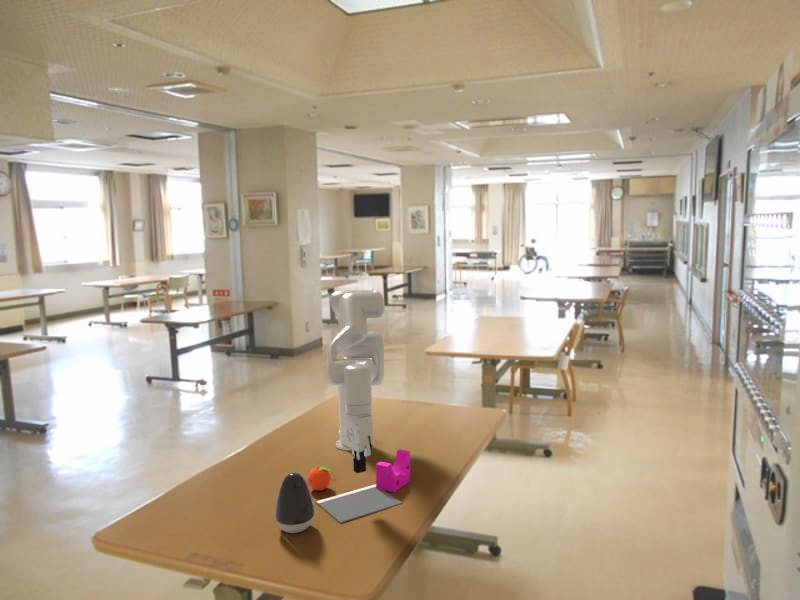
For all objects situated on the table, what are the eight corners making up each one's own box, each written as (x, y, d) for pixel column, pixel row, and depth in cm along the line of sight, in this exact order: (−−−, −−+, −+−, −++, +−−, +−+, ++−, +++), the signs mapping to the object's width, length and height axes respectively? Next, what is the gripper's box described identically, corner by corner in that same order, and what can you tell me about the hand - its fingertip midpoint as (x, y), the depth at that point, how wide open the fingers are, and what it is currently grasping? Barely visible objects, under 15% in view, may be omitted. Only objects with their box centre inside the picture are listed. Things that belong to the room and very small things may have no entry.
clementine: (336, 485, 184) (336, 462, 183) (331, 495, 177) (331, 472, 177) (311, 484, 185) (310, 462, 184) (305, 494, 178) (304, 471, 177)
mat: (315, 502, 173) (315, 500, 172) (375, 485, 183) (375, 483, 183) (340, 523, 160) (340, 521, 160) (402, 503, 171) (402, 502, 171)
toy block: (394, 492, 178) (394, 468, 177) (376, 488, 181) (376, 464, 180) (416, 475, 191) (417, 452, 190) (399, 471, 194) (399, 449, 193)
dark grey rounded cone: (280, 542, 151) (278, 484, 149) (272, 523, 161) (269, 469, 159) (319, 533, 155) (317, 477, 153) (309, 516, 165) (307, 463, 163)
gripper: (334, 404, 172) (335, 466, 174) (360, 417, 159) (361, 483, 161) (357, 400, 176) (358, 460, 178) (384, 412, 163) (385, 476, 165)
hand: (359, 471), depth 169 cm, fingers closed
